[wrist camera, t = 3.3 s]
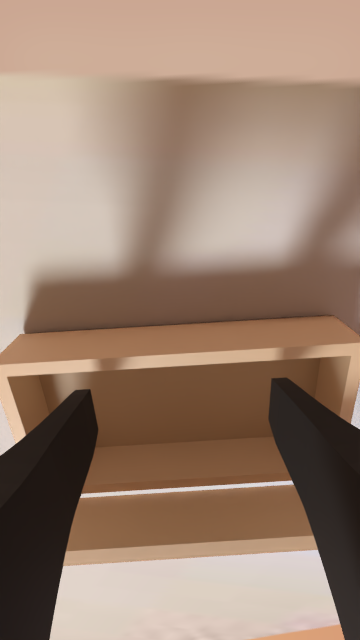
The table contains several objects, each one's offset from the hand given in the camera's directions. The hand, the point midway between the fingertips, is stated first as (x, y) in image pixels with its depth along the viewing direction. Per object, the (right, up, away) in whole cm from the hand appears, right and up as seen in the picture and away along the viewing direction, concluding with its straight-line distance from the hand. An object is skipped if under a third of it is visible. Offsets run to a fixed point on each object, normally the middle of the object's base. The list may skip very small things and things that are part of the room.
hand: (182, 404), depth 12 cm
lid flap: (0, -5, +2) cm, 6 cm away
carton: (0, -1, +5) cm, 5 cm away
